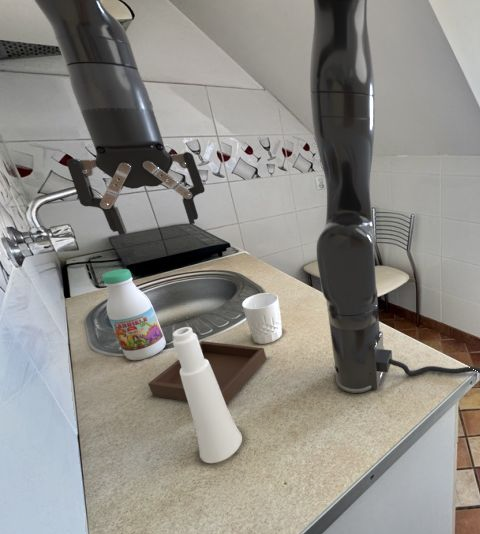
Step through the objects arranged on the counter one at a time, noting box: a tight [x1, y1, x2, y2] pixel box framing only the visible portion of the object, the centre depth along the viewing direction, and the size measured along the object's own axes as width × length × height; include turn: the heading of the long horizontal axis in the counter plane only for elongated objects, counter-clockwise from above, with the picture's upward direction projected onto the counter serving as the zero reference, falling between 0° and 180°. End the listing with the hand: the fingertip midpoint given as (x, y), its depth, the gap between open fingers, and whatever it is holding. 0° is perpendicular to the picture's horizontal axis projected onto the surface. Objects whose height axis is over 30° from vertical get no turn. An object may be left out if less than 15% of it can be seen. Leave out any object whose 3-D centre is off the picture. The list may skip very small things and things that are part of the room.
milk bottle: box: [101, 268, 167, 361], centre depth 71 cm, size 8×8×20 cm
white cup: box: [241, 292, 283, 345], centre depth 78 cm, size 8×8×10 cm
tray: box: [147, 340, 267, 405], centre depth 66 cm, size 16×14×3 cm
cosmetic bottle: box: [172, 326, 243, 464], centre depth 47 cm, size 6×6×22 cm
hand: (159, 228), depth 48 cm, fingers open, 8 cm apart
